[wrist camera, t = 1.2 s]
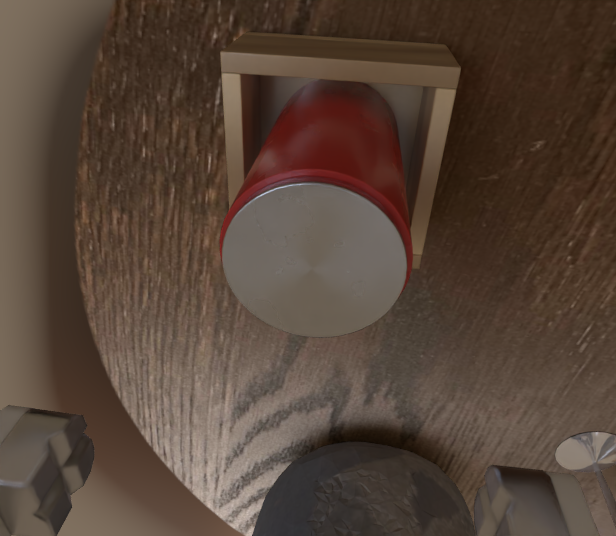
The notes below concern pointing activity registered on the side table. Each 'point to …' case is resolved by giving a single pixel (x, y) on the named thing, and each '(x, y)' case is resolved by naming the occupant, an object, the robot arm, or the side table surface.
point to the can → (322, 215)
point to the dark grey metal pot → (363, 496)
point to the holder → (343, 67)
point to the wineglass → (591, 459)
